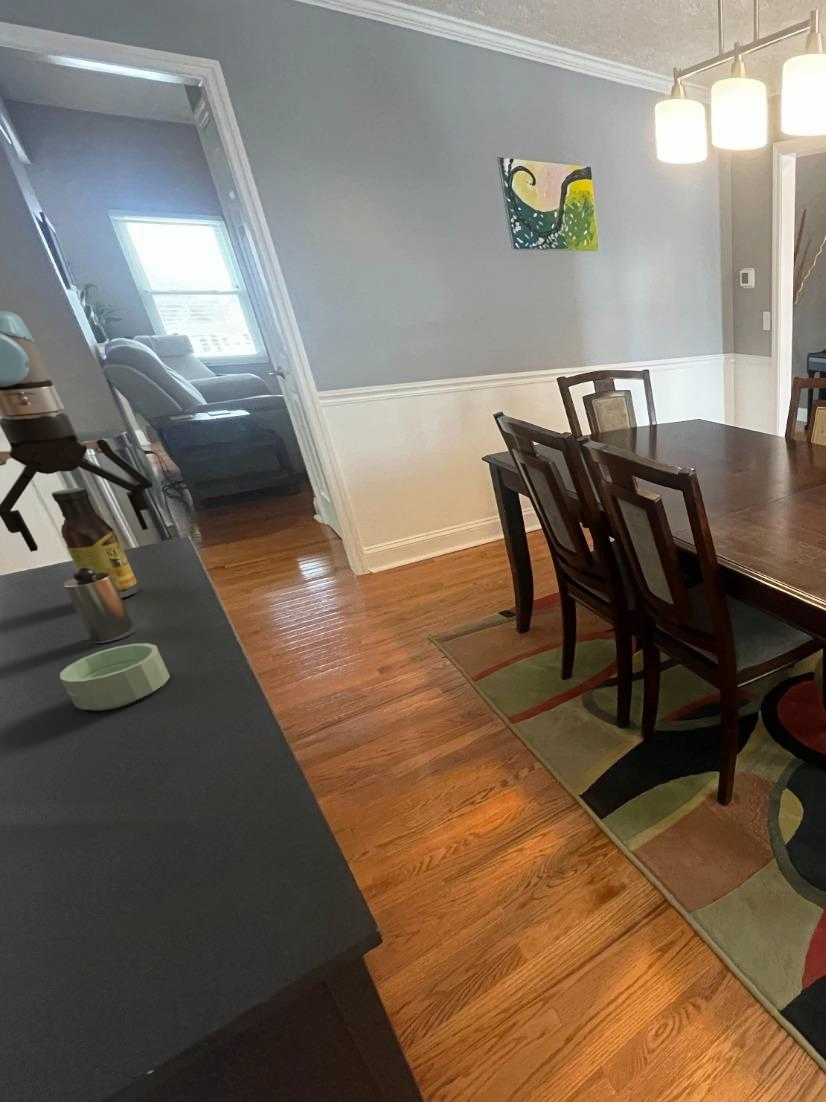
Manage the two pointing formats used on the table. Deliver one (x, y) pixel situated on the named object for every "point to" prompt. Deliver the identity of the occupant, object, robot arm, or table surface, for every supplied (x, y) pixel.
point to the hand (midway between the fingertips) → (92, 538)
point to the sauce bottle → (92, 538)
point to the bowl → (115, 676)
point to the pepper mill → (98, 604)
